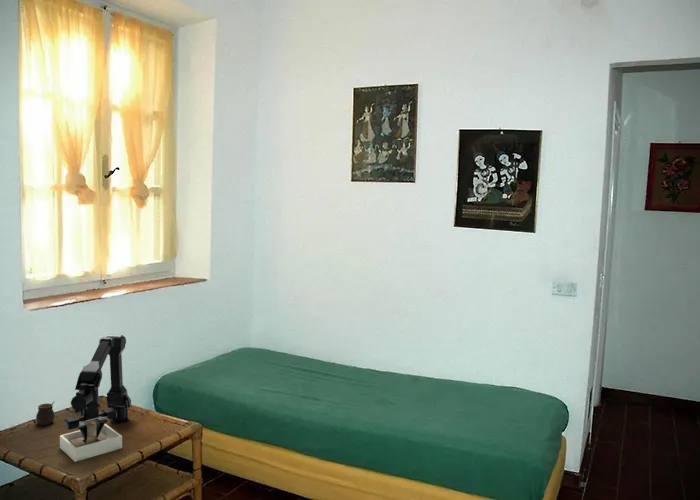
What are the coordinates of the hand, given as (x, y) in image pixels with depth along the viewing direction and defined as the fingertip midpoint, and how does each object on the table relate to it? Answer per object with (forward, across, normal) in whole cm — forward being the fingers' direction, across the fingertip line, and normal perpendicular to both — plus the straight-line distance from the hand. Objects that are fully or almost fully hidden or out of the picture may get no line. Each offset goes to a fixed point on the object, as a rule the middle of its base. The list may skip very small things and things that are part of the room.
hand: (91, 439), depth 229 cm
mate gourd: (+4, +5, -37) cm, 38 cm away
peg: (+2, 0, 0) cm, 2 cm away
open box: (+4, 0, 0) cm, 4 cm away
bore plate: (+3, 0, 0) cm, 3 cm away
